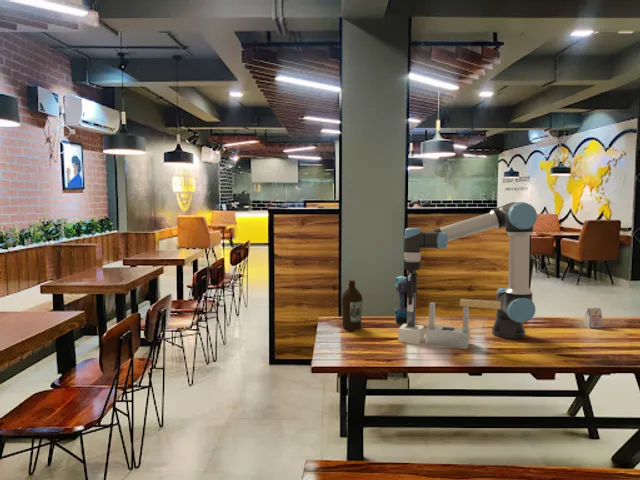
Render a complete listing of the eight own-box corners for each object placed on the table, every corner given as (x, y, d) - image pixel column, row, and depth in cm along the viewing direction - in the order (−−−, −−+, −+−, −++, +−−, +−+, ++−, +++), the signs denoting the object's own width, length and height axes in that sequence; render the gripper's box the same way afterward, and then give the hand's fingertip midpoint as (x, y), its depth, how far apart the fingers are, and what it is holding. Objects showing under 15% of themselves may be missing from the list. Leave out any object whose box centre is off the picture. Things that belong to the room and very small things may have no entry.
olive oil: (337, 326, 245) (337, 279, 243) (354, 324, 250) (355, 277, 248) (348, 331, 236) (348, 282, 234) (366, 328, 241) (366, 280, 239)
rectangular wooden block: (500, 307, 207) (501, 301, 206) (500, 309, 203) (500, 303, 203) (460, 304, 213) (461, 298, 213) (459, 305, 210) (459, 300, 210)
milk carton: (584, 326, 245) (585, 307, 244) (597, 326, 245) (597, 307, 245) (589, 328, 241) (590, 309, 240) (601, 327, 242) (602, 308, 241)
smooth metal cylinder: (416, 325, 222) (416, 292, 221) (414, 327, 219) (415, 293, 217) (407, 324, 224) (408, 291, 223) (406, 326, 220) (406, 293, 219)
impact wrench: (406, 316, 268) (406, 272, 266) (410, 326, 246) (410, 279, 244) (392, 315, 269) (392, 272, 267) (394, 326, 246) (395, 279, 244)
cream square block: (423, 338, 224) (424, 325, 224) (419, 343, 215) (419, 331, 215) (403, 335, 228) (403, 323, 228) (398, 341, 219) (398, 328, 219)
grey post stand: (469, 343, 216) (470, 304, 215) (467, 349, 207) (468, 308, 206) (430, 338, 223) (430, 300, 222) (426, 344, 214) (426, 305, 213)
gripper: (408, 258, 228) (407, 305, 230) (399, 262, 213) (399, 313, 214) (423, 259, 225) (423, 307, 227) (416, 263, 210) (415, 315, 211)
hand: (411, 310), depth 221 cm, fingers closed on smooth metal cylinder, 4 cm apart
